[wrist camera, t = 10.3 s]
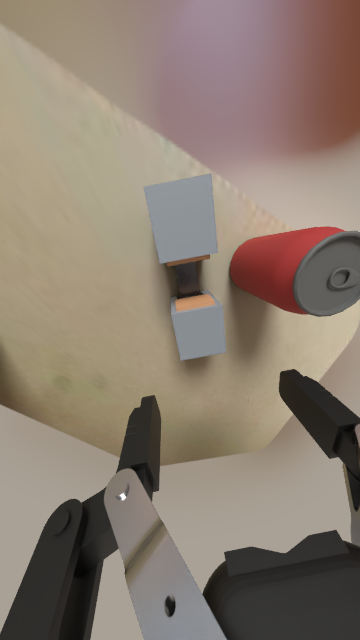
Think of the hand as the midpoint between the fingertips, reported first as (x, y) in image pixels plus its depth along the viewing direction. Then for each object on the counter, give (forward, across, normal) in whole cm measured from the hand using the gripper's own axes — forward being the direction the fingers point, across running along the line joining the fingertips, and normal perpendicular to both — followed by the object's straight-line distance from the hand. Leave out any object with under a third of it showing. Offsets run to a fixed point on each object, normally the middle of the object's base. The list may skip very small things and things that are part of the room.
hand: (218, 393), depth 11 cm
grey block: (+15, 0, 0) cm, 15 cm away
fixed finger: (+15, 0, -11) cm, 18 cm away
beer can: (+15, -9, -5) cm, 18 cm away
